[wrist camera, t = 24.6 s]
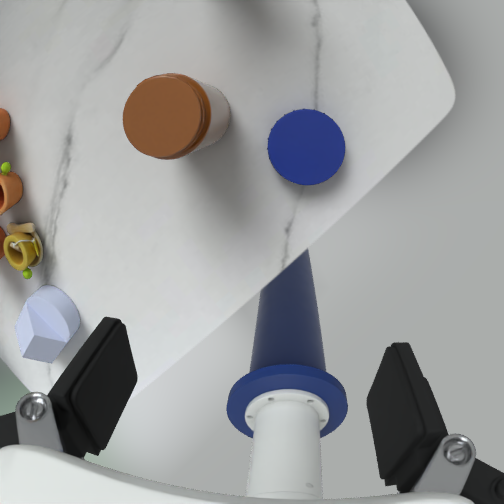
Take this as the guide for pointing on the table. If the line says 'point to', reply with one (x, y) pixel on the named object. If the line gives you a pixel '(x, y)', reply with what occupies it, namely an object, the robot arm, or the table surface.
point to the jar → (174, 116)
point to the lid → (306, 147)
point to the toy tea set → (21, 236)
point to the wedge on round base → (46, 324)
